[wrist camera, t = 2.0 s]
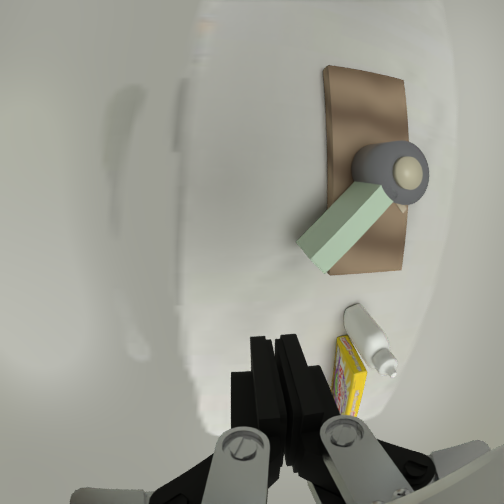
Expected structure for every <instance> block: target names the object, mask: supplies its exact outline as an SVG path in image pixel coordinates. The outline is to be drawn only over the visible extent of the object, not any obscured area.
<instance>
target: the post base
mask: <svg viewBox="0 0 504 504" xmlns="http://www.w3.org/2000/svg"><path fill="white" fill-rule="evenodd" d="M323 77H324V91H325V107H326V128H327V176H328V184H327V210H328V209H329V208H330V207H331V205H332V204H333V203H334V202H335V201H336V200H337V199H338V198H339V197H340V196H341V195H342V194H343V193H344V192H345V191H346V190H347V189H348V188H349V187H350V186H351V185H352V184H353V182H354V180H353V177H352V171H351V168H352V161H353V158H354V156H355V154H356V153H357V152H358V151H359V150H360V149H361V148H362V147H364V146H366V145H370V144H377V143H385V142H392V141H401V140H403V141H408V142H409V137H408V119H407V107H406V96H405V88H404V80H401V79H397V78H394V77H389V76H385V75H381V74H376V73H372V72H367V71H362V70H356V69H351V68H344V67H338V66H331V65H328V66H327V67H326V68H325V69H324V70H323ZM407 213H408V205H401V204H397V203H392V204H391V205H390V206H389V207H388V208H387V209H386V210H385V212H384V213H383V214H382V215H381V216H380V217H379V218H378V219H377V220H376V221H375V223H374V224H373V225H372V226H371V227H370V228H369V229H368V230H367V231H366V232H365V233H364V234H363V235H362V237H361V238H360V239H359V240H358V241H357V242H356V243H355V244H354V245H353V246H352V247H351V248H350V249H349V250H348V251H347V252H346V253H345V254H344V255H343V256H342V257H341V258H340V259H339V260H338V261H337V262H336V263H335V264H334V265H333V266H332V267H331V268H330V269H329V270H328V271H327V273H328V274H329V275H344V274H359V273H372V272H385V271H397V270H401V269H402V262H403V254H404V246H405V237H406V226H407Z"/></svg>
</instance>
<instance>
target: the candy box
mask: <svg viewBox="0 0 504 504" xmlns="http://www.w3.org/2000/svg"><path fill="white" fill-rule="evenodd" d="M366 376H367V370H366V368H365V366H364V364H363V363H362V361H361V359H360V357H359V355H358V353H357V351H356V349H355V348H354V346H353V344H352V342H351V340H350V338H349V336H348V335H345V336H340V337H337V345H336V355H335V364H334V372H333V380H332V388H331V393H332V395H333V397H334V400H335V402H336V405H337V407H338V410H339V412H340V414H341V415H350V416H354V417H357V413H358V410H359V406H360V402H361V398H362V394H363V389H364V385H365V381H366Z"/></svg>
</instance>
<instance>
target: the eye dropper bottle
mask: <svg viewBox="0 0 504 504" xmlns="http://www.w3.org/2000/svg"><path fill="white" fill-rule="evenodd" d="M344 326H345V330H346V332H347V334H348V336H349V337H350V339H351V340H352V342H353V344H354V345H355V347H356V348H357V350H358V352H359V353H360V355H361V356H362V358H363V360H364V361H365V363H366V364H367V365H368V366H369V367H370V368H371V369H376V370H377V371H378V373H379V374H380V375H382V376H386V375H389V376H390V377H391V378H394V377H395V376H396V375H397V373H396V371H395V369H396V367H397V364H398V362H397V360H396V358H395V357H394V356H393V354H392V353H391V352H390V344H389V340H388V338H387V336H386V335H385V333H384V332H383V330H382V329H381V328H380V327H379V325H378V324H377V323H376V322H375V321H374V319H373V318H372V317H371V316H370V315H369V313H368V312H367V311H366V310H365V309H364V308H363V306H362V305H360V304H356V305H354V306H351V307H349V308H347V309H346V311H345V314H344Z"/></svg>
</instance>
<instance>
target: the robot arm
mask: <svg viewBox="0 0 504 504" xmlns="http://www.w3.org/2000/svg"><path fill="white" fill-rule="evenodd" d="M250 349H251V371H246V372H231V429H229V430H227V431H226V432H224V433H223V434H222V435H221V436H220V437H219V438H218V441H217V443H216V447H215V451H214V453H213V454H212V455H210V456H209V457H208V458H206V459H205V460H203V461H202V462H200V463H199V464H197V465H196V466H195V467H193V468H191V469H190V470H188V471H187V472H185V473H183V474H182V475H180V476H179V477H177V478H175V479H174V480H172V481H170V482H169V483H167V484H165V485H164V486H162V487H160V488H159V489H157V490H156V491H154V492H144V491H143V490H120V489H100V488H89V487H88V488H80V489H78V490H75V492H74V493H73V494H72V495H71V499H70V504H267V497H268V488H269V487H270V486H271V485H272V484H274V483H275V482H276V481H277V480H278V479H279V473H280V467H282V464H283V456H284V455H285V460H286V465H287V466H292V467H293V472H294V473H297V472H298V474H299V476H300V477H302V478H304V479H306V480H307V483H308V486H309V489H310V491H311V493H312V495H313V498H314V500H315V502H316V504H504V444H503V445H501V446H499V447H497V448H495V449H493V450H490V448H489V446H488V445H487V444H486V443H485V442H483V441H480V440H475V441H471V442H468V443H464V444H461V445H458V446H454V447H451V448H447V449H443V450H438V451H434V452H432V453H431V454H430V455H425V454H422V453H419V452H416V451H412V450H409V449H405V448H402V447H399V446H396V445H393V444H390V443H387V442H384V441H381V440H378V439H376V438H375V436H374V435H373V433H372V432H371V430H370V429H369V428H368V426H367V425H366V424H365V423H364V422H363V421H362V420H361V419H359V418H357V417H354V416H350V415H341V414H340V412H339V410H338V407H337V405H336V402H335V400H334V397H333V395H332V393H331V390H330V388H329V385H328V383H327V381H326V378H325V376H324V374H323V371H322V369H321V367H320V366H319V365H316V366H308V365H307V363H306V360H305V357H304V354H303V352H302V349H301V346H300V344H299V341H298V338H297V335H296V334H286V335H281V336H280V339H275V355H274V351H273V346H272V341H271V339H270V340H266V338H265V336H257V337H250Z"/></svg>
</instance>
